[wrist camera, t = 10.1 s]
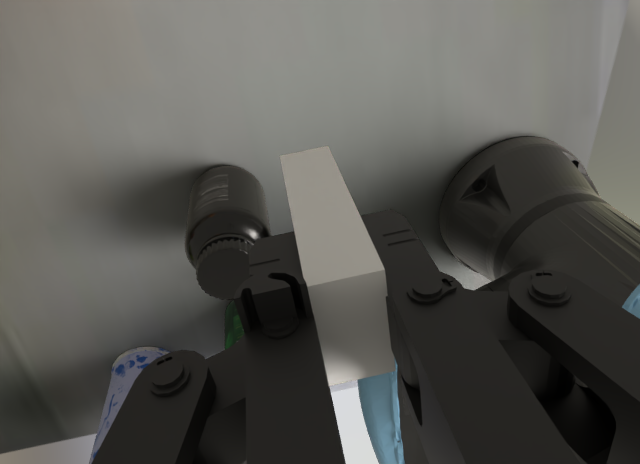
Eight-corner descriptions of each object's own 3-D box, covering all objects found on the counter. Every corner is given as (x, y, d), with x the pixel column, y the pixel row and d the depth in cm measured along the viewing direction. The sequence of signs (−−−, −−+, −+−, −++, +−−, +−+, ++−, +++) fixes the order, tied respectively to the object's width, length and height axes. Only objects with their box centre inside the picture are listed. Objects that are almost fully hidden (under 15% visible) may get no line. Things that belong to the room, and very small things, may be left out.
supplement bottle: (188, 224, 45) (176, 308, 35) (193, 158, 41) (182, 230, 31) (259, 231, 46) (268, 313, 36) (270, 168, 43) (283, 239, 33)
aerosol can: (138, 402, 56) (101, 599, 40) (96, 364, 52) (35, 566, 35) (196, 377, 56) (183, 567, 39) (159, 336, 51) (126, 529, 35)
